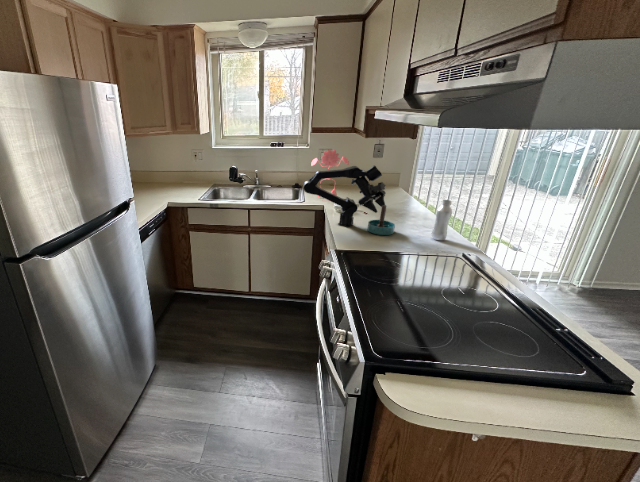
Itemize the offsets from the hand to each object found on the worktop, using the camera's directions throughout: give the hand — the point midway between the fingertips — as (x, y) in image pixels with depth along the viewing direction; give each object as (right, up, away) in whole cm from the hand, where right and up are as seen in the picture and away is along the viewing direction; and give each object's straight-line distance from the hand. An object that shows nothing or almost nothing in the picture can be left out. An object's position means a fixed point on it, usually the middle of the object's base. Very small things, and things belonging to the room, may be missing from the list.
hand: (381, 210), depth 167 cm
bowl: (+1, -11, +4) cm, 12 cm away
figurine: (-11, +14, +66) cm, 69 cm away
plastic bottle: (+25, -15, -7) cm, 30 cm away
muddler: (+1, -10, +3) cm, 11 cm away
